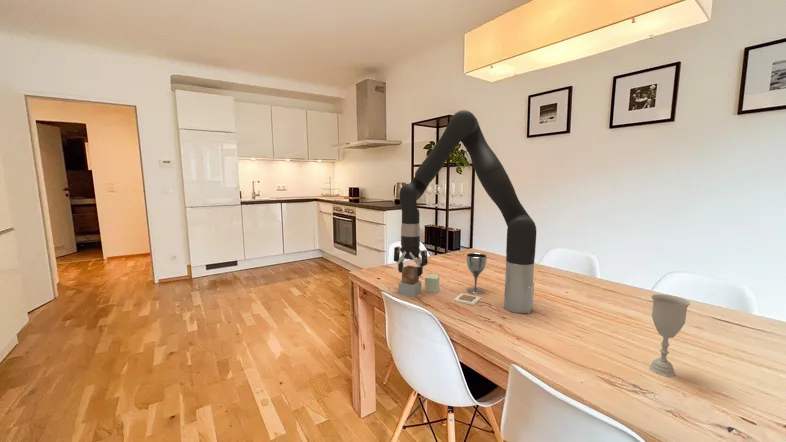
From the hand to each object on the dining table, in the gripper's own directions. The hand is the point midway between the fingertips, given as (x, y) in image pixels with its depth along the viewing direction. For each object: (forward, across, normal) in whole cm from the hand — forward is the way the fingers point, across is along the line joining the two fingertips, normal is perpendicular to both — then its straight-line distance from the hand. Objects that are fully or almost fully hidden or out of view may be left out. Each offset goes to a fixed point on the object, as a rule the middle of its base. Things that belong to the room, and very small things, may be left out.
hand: (410, 273), depth 130 cm
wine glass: (+8, -21, -18) cm, 29 cm away
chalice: (+8, -78, +12) cm, 79 cm away
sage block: (+8, -6, -8) cm, 13 cm away
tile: (+8, -22, -6) cm, 24 cm away
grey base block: (+8, 0, 0) cm, 8 cm away
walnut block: (+3, 0, 0) cm, 3 cm away
